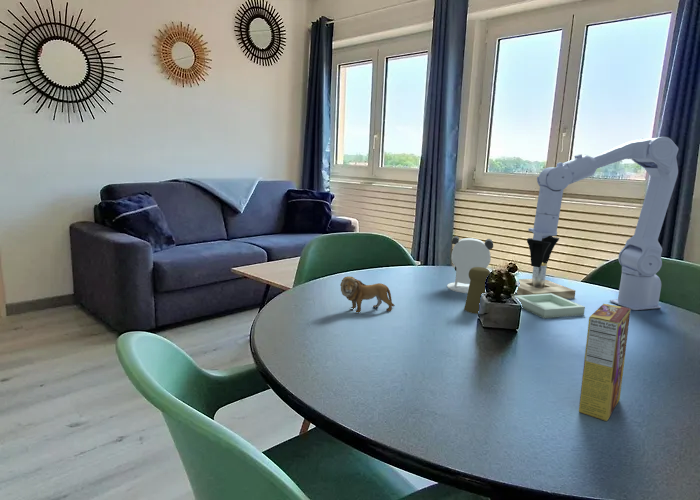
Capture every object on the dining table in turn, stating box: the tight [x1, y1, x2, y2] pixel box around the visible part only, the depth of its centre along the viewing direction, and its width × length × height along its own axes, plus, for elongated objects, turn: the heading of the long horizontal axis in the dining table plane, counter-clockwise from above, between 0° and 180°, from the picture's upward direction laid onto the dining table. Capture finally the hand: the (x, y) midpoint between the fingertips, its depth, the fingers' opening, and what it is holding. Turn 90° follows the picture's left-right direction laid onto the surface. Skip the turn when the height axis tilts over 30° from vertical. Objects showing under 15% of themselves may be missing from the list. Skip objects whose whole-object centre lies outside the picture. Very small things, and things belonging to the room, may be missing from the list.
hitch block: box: [516, 278, 576, 300], centre depth 136 cm, size 14×14×2 cm
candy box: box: [578, 303, 632, 422], centre depth 71 cm, size 9×4×15 cm, turn 140°
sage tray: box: [515, 293, 586, 319], centre depth 120 cm, size 12×12×2 cm
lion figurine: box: [340, 275, 396, 313], centre depth 114 cm, size 15×5×9 cm, turn 113°
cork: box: [463, 267, 491, 315], centre depth 117 cm, size 6×6×11 cm
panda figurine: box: [446, 235, 494, 294], centre depth 137 cm, size 12×11×15 cm
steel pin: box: [531, 262, 548, 288], centre depth 135 cm, size 4×4×9 cm
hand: (539, 264), depth 124 cm, fingers open, 7 cm apart
